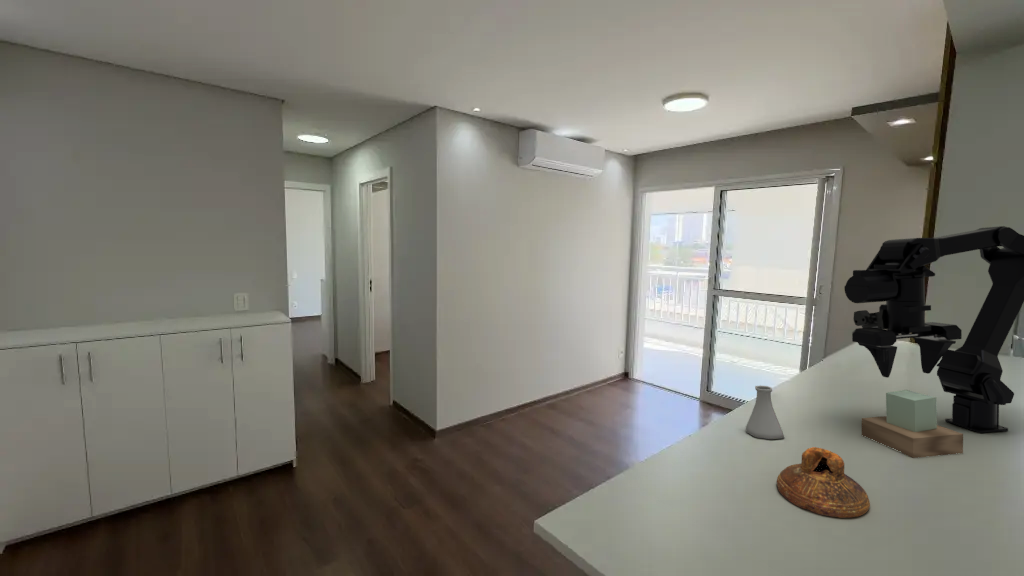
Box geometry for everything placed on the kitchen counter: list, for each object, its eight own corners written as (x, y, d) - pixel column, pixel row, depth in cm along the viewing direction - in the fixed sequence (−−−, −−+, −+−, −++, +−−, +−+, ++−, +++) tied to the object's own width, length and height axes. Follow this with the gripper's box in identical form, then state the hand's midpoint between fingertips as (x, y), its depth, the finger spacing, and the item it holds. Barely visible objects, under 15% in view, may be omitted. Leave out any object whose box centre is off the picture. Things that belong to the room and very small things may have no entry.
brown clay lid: (884, 502, 62) (884, 455, 62) (847, 531, 56) (847, 479, 56) (799, 470, 72) (798, 430, 72) (760, 492, 66) (760, 448, 66)
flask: (791, 441, 83) (790, 392, 83) (752, 440, 85) (751, 392, 84) (775, 427, 90) (774, 382, 90) (740, 426, 92) (739, 382, 91)
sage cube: (907, 418, 82) (906, 389, 82) (936, 428, 78) (936, 397, 77) (886, 422, 82) (885, 392, 81) (915, 432, 77) (914, 400, 76)
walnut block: (906, 433, 85) (906, 414, 85) (962, 455, 75) (963, 433, 75) (861, 437, 84) (861, 418, 84) (913, 460, 74) (913, 438, 74)
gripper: (905, 294, 93) (906, 362, 94) (828, 300, 91) (830, 369, 92) (963, 297, 82) (964, 374, 83) (877, 304, 80) (879, 383, 81)
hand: (905, 375), depth 85 cm, fingers open, 9 cm apart
